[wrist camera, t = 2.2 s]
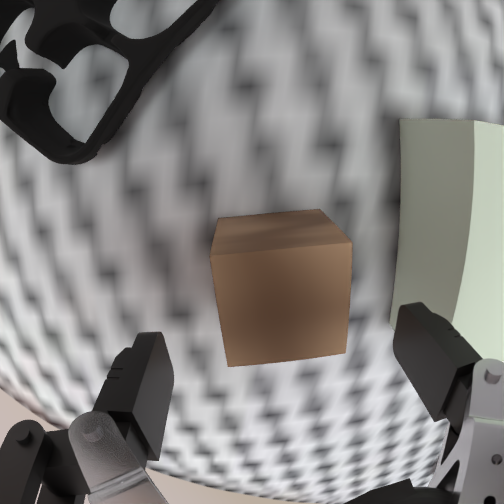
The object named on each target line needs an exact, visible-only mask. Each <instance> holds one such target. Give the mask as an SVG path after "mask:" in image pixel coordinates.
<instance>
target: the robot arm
mask: <svg viewBox="0 0 504 504" xmlns="http://www.w3.org/2000/svg"><path fill="white" fill-rule="evenodd" d="M393 351H394V355H395V357H396V359H397V361H398V362H399V364H400V365H401V367H402V369H403V370H404V372H405V373H406V375H407V377H408V378H409V380H410V382H411V383H412V385H413V387H414V388H415V390H416V392H417V393H418V395H419V397H420V398H421V400H422V402H423V403H424V405H425V407H426V408H427V410H428V412H429V414H430V415H431V417H432V419H433V421H434V422H437V421H439V420H442V419H445V418H447V419H448V420H449V423H448V425H447V428H446V432H445V436H444V440H443V444H442V448H441V452H440V456H439V459H438V463H437V466H436V470H435V473H434V475H433V477H432V479H431V481H430V483H429V485H428V487H413V486H412V483H411V481H410V478H409V479H406V480H403V481H400V482H397V483H394V484H390V485H387V486H384V487H381V488H377V489H373V490H370V491H369V492H367V493H365V494H363V495H361V496H359V497H357V498H355V499H352V500H350V501H348V502H346V503H344V504H504V363H503V362H502V361H500V360H497V359H491V358H487V359H483V358H482V357H481V356H480V355H479V354H478V353H477V352H476V350H475V349H474V348H473V347H472V346H471V345H470V344H469V343H468V342H467V341H466V339H465V338H464V337H463V336H461V334H460V333H459V332H458V331H457V330H456V329H454V327H453V325H452V324H451V323H450V322H449V321H448V320H447V319H445V318H444V317H442V316H440V315H438V314H436V313H432V312H431V311H430V310H429V309H428V308H427V307H426V306H425V304H424V303H422V302H415V303H409V304H404V305H401V306H400V307H399V310H398V316H397V322H396V328H395V333H394V339H393ZM173 385H174V372H173V367H172V363H171V360H170V357H169V353H168V350H167V347H166V343H165V340H164V336H163V334H162V333H161V332H141V333H138V335H137V337H136V339H135V341H134V344H133V346H132V348H125V349H124V350H123V351H122V352H121V353H119V354H118V355H117V356H116V358H115V360H114V362H113V364H112V366H111V370H110V371H109V373H108V375H107V379H106V380H105V382H104V384H103V386H102V389H101V391H100V393H99V396H98V398H97V400H96V403H95V405H94V407H93V410H92V411H91V412H87V413H84V414H82V415H80V416H79V417H77V418H76V419H75V420H74V421H73V422H72V423H71V425H70V427H69V429H65V430H57V431H49V432H46V431H45V430H44V429H43V427H42V426H41V425H40V424H39V423H38V422H36V421H34V420H23V421H21V422H18V423H17V424H15V425H14V426H13V427H12V428H11V429H10V430H9V432H8V433H7V435H6V437H5V440H4V442H3V444H2V446H1V448H0V504H35V500H36V497H37V494H38V491H39V488H40V484H42V487H41V490H40V494H39V497H38V500H37V504H84V500H85V495H86V494H88V500H89V503H90V504H169V503H168V502H167V501H166V499H165V498H164V497H163V495H162V494H161V493H160V491H159V490H158V488H157V487H156V486H155V484H154V483H153V481H152V480H151V478H150V477H149V475H148V474H147V473H146V471H145V467H146V462H147V460H152V461H159V458H160V452H161V447H162V441H163V436H164V431H165V425H166V420H167V415H168V410H169V405H170V400H171V395H172V390H173Z"/></svg>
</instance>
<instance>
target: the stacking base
mask: <svg viewBox="0 0 504 504" xmlns="http://www.w3.org/2000/svg"><path fill="white" fill-rule="evenodd" d="M399 126H400V154H401V192H400V221H399V238H398V251H397V263H396V273H395V282H394V291H393V299H392V306H391V313H390V320H389V324H390V325H391V327H392V328H393V330H394V331H395V328H396V322H397V316H398V310H399V307H400V306H401V305H404V304H409V303H415V302H422V303H424V304H425V306H426V307H427V308H428V309H429V310H430V311H431V312H432V313H436V314H438V315H440V316H442V317H444V318H445V319H447V320H448V321H449V322H450V323H451V324H452V325H453V327H454V329H456V330H457V331H458V332H459V333H460V334H461V336H463V337H464V338H465V339H466V341H467V342H468V343H469V344H470V345H471V346H472V347H473V348H474V349H475V350H476V352H477V353H478V354H479V355H480V356H481V357H482V358H483V359H487V358H491V359H497V360H500V361H504V126H503V125H498V124H493V123H487V122H481V121H475V120H458V119H399Z"/></svg>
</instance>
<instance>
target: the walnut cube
mask: <svg viewBox="0 0 504 504" xmlns="http://www.w3.org/2000/svg"><path fill="white" fill-rule="evenodd" d="M210 263H211V269H212V276H213V282H214V289H215V295H216V301H217V307H218V313H219V319H220V325H221V331H222V337H223V343H224V348H225V354H226V359H227V365H228V367H234V366H247V365H258V364H268V363H278V362H286V361H295V360H303V359H310V358H317V357H324V356H331V355H337V354H343V353H346V344H347V334H348V322H349V308H350V292H351V273H352V241H351V240H350V239H349V238H348V237H347V236H346V235H345V234H344V233H343V232H342V231H341V230H340V229H339V228H338V227H337V226H336V225H335V224H334V223H333V222H332V221H331V220H330V219H329V218H328V217H327V216H326V215H325V214H324V213H323V212H322V211H321V210H320V209H314V210H302V211H290V212H278V213H267V214H256V215H246V216H236V217H226V218H218V222H217V226H216V230H215V235H214V239H213V243H212V247H211V252H210Z"/></svg>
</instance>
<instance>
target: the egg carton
mask: <svg viewBox="0 0 504 504" xmlns="http://www.w3.org/2000/svg"><path fill="white" fill-rule="evenodd" d="M116 1H117V0H0V43H1V41H2V39H3V37H4V35H5V34H6V32H7V31H8V29H9V27H10V26H11V24H12V23H13V22H14V20H15V19H16V18H17V17H18V16H19V15H20V14H21V13H22V12H23V11H24V10H26V9H28V8H35V14H34V18H33V21H32V24H31V26H30V28H29V30H28V32H27V34H26V36H25V44H26V46H27V47H28V48H29V49H30V50H32V51H33V52H35V53H36V54H38V55H40V56H42V57H45V58H47V59H49V60H51V61H53V62H54V63H56V64H58V65H59V66H60V67H61V68H62V69H65V68H66V66H67V65H68V64H69V63H70V61H71V60H72V59H73V58H74V56H75V55H76V54H77V53H78V52H79V51H80V50H82V49H83V48H85V47H87V46H89V45H94V44H99V45H103V46H105V47H107V48H110V49H112V50H113V51H115V52H117V53H119V54H120V55H122V56H123V57H125V58H126V59H128V62H129V68H128V70H127V74H126V76H125V79H124V82H123V84H122V87H121V88H120V90H119V92H118V93H117V95H116V97H115V99H114V100H113V102H112V103H111V105H110V106H109V108H108V109H107V111H106V112H105V114H104V116H103V117H102V119H101V120H100V122H99V123H98V125H97V127H96V128H95V130H94V131H93V133H92V134H91V136H90V137H89V139H88V140H87V142H86V143H82V142H80V141H77V140H75V139H74V138H73V137H72V136H71V135H70V134H69V133H68V132H66V131H65V130H64V129H63V128H62V127H61V126H60V125H59V124H58V123H57V122H56V121H55V120H54V118H53V117H52V114H51V112H50V109H49V105H48V100H49V96H50V94H51V92H52V90H53V88H54V87H55V85H56V79H55V77H54V76H53V75H52V74H51V73H49V72H47V71H46V70H44V69H33V68H19V63H18V60H17V50H16V41H15V40H12V41H11V42H9V43H8V44H7V45H6V46H5V48H4V49H3V50H2V51H1V53H0V67H1V68H3V69H4V70H5V71H6V72H5V73H4V74H3V75H2V76H1V78H0V120H1V121H2V122H3V123H5V124H6V125H7V126H8V127H9V128H11V129H12V130H13V131H14V132H15V133H17V134H18V135H19V136H20V137H22V138H23V139H24V140H25V141H27V142H28V143H29V144H30V145H32V146H33V147H34V148H36V149H37V150H38V151H39V152H40V153H42V154H43V155H44V156H46V157H47V158H48V159H50V160H51V161H53V162H56V163H60V164H72V165H76V164H82V163H85V162H88V161H89V160H91V159H93V158H94V157H95V156H96V155H97V152H98V151H99V149H100V147H101V146H102V145H103V144H105V143H107V142H108V141H109V140H110V139H111V138H112V137H113V135H114V134H115V133H116V131H117V130H118V129H119V127H120V126H121V124H122V123H123V121H124V120H125V119H126V117H127V116H128V114H129V113H130V111H131V110H132V108H133V107H134V105H135V104H136V102H137V100H138V99H139V97H140V95H141V92H142V89H143V87H144V86H145V85H146V83H147V82H148V81H149V79H150V78H151V77H152V75H153V74H154V73H155V71H156V70H157V69H158V68H159V66H160V65H161V64H162V63H163V61H164V60H165V59H166V58H167V57H168V55H169V54H170V53H171V52H172V51H173V50H174V48H175V47H176V46H178V45H180V44H181V43H182V42H184V40H185V39H186V38H188V37H189V36H190V35H191V34H192V33H193V32H194V31H195V30H196V29H197V28H198V27H199V26H200V25H201V23H202V22H203V21H205V20H206V19H207V17H208V16H209V15H210V14H211V12H212V11H213V9H214V7H215V5H216V4H217V3H218V2H219V1H220V0H197V1H196V2H195V3H194V4H193V5H192V6H191V7H189V8H188V9H187V10H186V12H185V13H184V14H182V15H181V16H180V17H179V18H178V19H177V20H176V21H175V22H174V23H173V24H172V25H171V26H170V27H169V28H167V29H166V30H164V31H163V32H161V33H159V34H157V35H155V36H152V37H149V38H144V39H130V38H127V37H126V36H124V35H122V34H121V33H119V32H117V31H116V30H115V29H114V28H113V27H112V26H111V24H110V12H111V9H112V7H113V6H114V4H115V3H116Z"/></svg>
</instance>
